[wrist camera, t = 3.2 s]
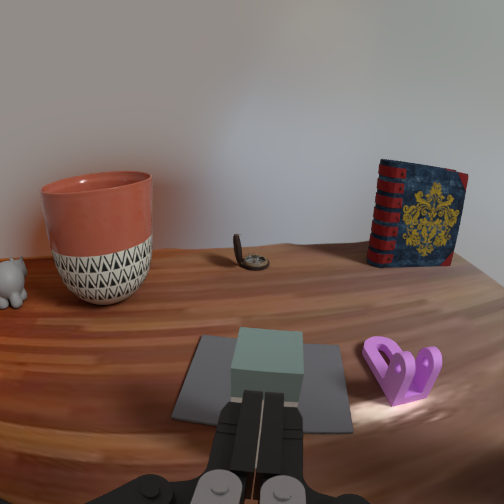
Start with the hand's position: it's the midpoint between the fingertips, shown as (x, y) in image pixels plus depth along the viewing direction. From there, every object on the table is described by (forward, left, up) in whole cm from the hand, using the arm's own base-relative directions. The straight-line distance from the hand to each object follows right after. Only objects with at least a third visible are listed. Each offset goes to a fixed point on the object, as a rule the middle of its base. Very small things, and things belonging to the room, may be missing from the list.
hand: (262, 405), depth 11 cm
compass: (+6, -57, -20) cm, 61 cm away
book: (-34, -64, -20) cm, 75 cm away
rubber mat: (0, -21, -20) cm, 29 cm away
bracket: (-17, -24, -20) cm, 36 cm away
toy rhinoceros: (+50, -31, -20) cm, 62 cm away
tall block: (0, -10, -20) cm, 22 cm away
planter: (+30, -37, -20) cm, 52 cm away
